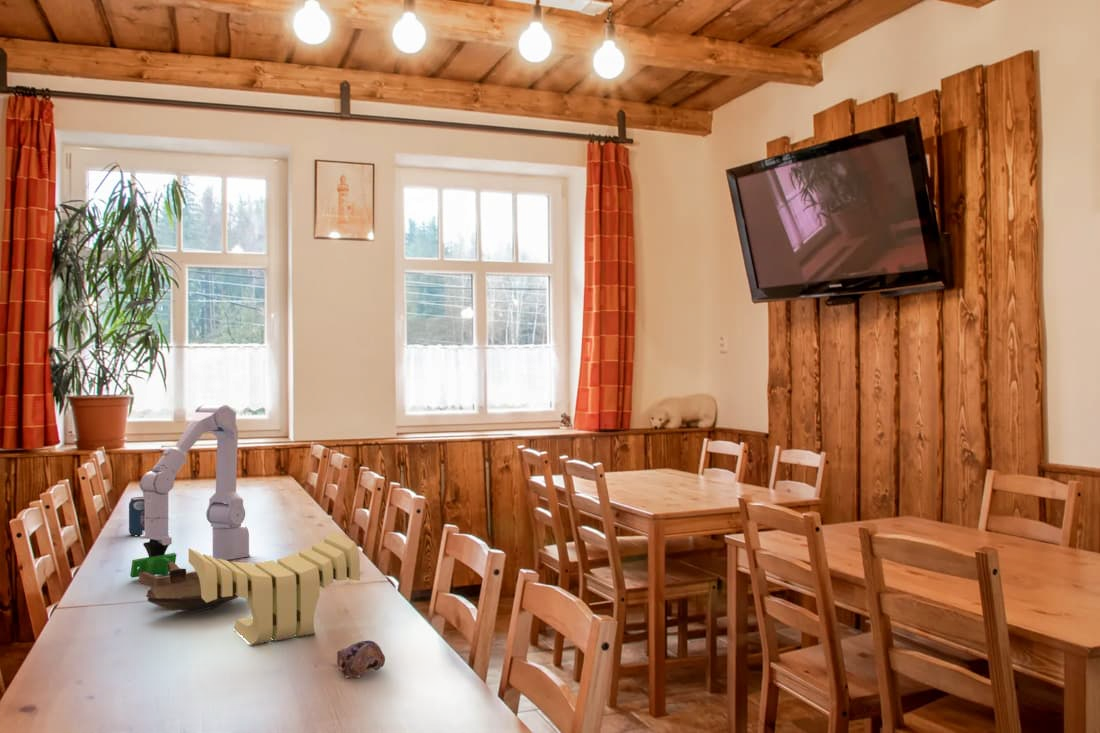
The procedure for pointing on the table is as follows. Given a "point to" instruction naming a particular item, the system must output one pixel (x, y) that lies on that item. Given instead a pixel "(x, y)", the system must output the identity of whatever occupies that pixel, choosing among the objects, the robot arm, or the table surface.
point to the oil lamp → (183, 593)
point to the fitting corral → (162, 579)
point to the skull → (360, 658)
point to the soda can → (137, 516)
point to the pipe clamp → (152, 565)
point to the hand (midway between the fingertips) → (156, 568)
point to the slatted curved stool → (279, 586)
